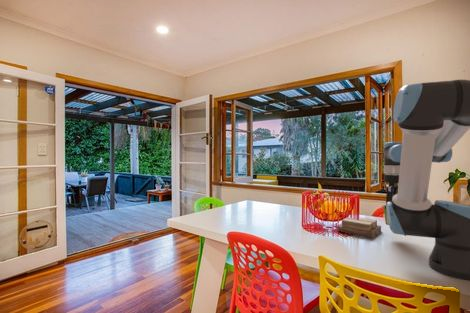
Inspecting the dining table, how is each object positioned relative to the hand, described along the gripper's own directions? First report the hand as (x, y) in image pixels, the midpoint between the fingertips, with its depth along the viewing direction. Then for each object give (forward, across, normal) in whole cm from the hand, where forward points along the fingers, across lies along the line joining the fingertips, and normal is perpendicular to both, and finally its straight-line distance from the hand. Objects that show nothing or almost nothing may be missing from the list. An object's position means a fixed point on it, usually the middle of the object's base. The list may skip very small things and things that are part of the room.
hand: (393, 221), depth 120 cm
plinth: (+8, +2, +16) cm, 18 cm away
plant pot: (+2, 0, 0) cm, 2 cm away
